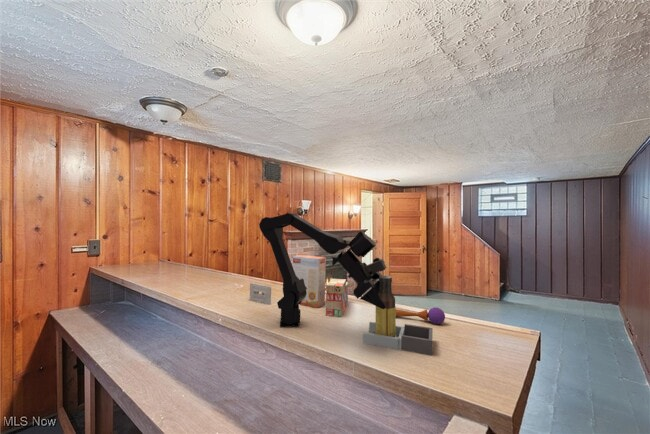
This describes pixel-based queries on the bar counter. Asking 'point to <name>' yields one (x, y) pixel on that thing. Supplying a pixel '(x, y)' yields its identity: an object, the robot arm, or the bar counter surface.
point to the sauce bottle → (386, 309)
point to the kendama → (425, 315)
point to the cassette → (260, 298)
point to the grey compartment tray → (403, 338)
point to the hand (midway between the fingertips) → (386, 304)
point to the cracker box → (311, 278)
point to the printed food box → (336, 297)
